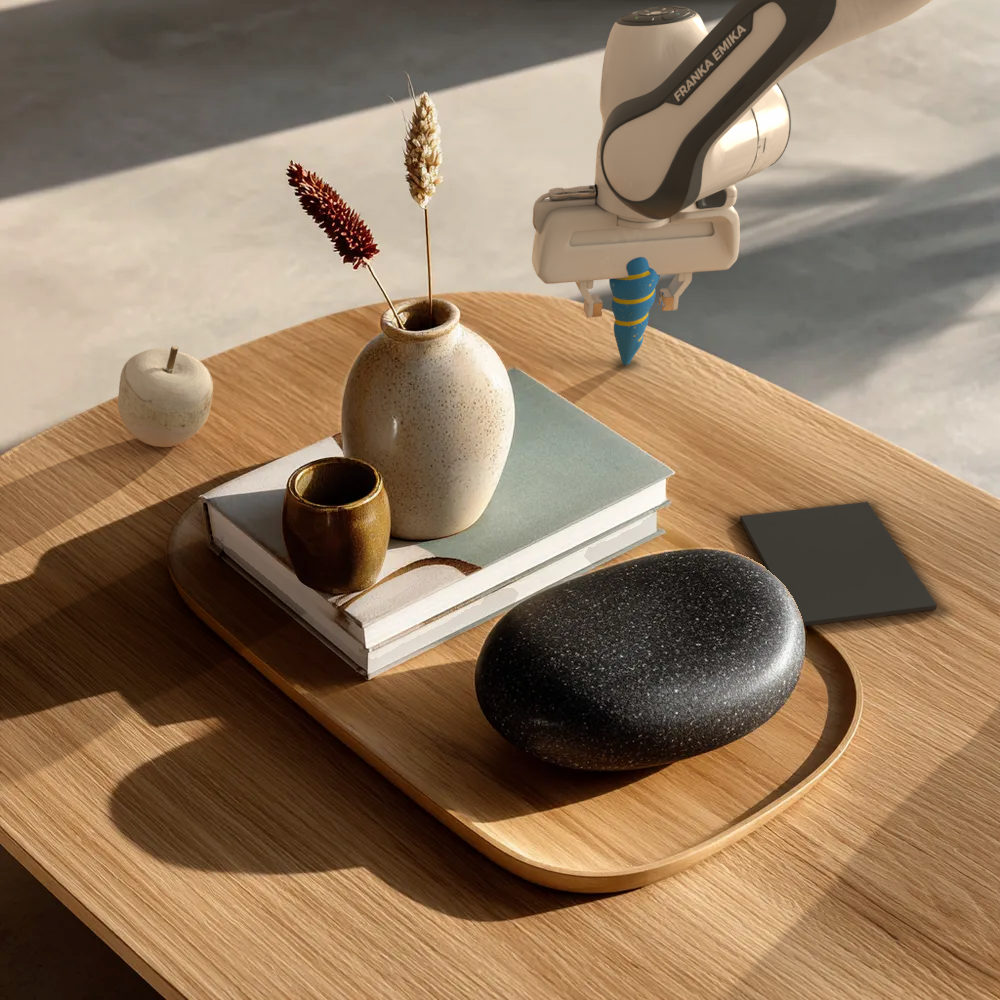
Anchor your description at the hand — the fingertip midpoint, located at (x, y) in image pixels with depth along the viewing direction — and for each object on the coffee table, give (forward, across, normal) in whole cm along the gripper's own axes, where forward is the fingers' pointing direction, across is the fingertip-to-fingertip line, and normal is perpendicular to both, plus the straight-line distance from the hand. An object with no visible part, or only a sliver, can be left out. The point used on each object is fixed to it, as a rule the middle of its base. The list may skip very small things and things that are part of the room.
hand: (630, 311), depth 134 cm
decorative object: (+6, -46, -6) cm, 47 cm away
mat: (+6, +9, -34) cm, 36 cm away
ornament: (+6, 0, 0) cm, 6 cm away
